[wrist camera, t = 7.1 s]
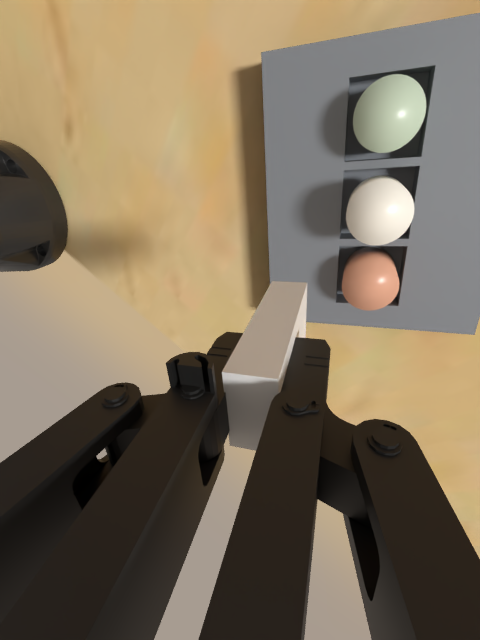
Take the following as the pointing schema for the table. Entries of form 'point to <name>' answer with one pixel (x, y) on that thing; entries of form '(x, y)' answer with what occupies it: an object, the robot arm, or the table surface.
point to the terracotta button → (370, 279)
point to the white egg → (379, 210)
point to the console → (377, 172)
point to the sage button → (389, 113)
